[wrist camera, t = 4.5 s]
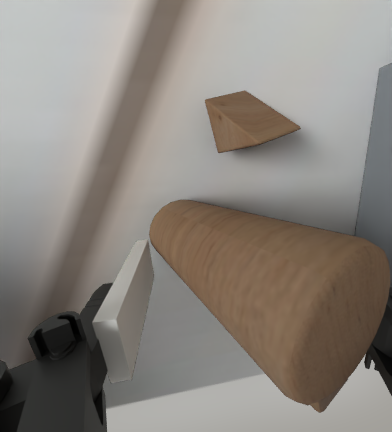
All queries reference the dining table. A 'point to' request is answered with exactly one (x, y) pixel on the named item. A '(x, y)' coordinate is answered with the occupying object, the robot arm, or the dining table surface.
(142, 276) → the robot arm
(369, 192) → the grey rectangular slab
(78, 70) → the dining table surface
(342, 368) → the wooden block set
